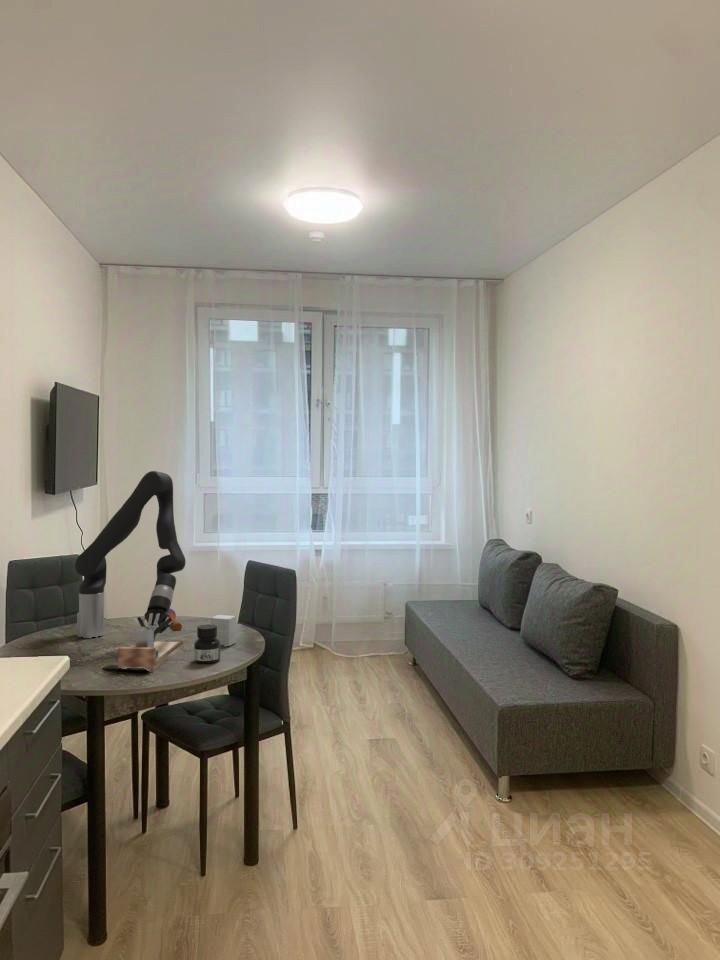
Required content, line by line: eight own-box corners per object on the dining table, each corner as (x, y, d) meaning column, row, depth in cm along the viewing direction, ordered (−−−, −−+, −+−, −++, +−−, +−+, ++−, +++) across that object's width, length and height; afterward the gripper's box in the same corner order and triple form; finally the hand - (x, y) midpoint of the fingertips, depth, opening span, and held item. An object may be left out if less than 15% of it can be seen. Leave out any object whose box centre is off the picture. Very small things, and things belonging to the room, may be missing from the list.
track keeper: (131, 661, 243) (131, 630, 242) (138, 656, 249) (138, 626, 248) (151, 661, 242) (151, 631, 242) (158, 656, 248) (157, 627, 248)
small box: (236, 643, 273) (236, 615, 273) (229, 647, 268) (229, 619, 267) (218, 641, 276) (218, 614, 275) (210, 645, 270) (210, 617, 270)
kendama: (169, 622, 291) (158, 609, 308) (171, 636, 292) (161, 622, 309) (183, 618, 293) (172, 605, 311) (186, 631, 294) (175, 618, 312)
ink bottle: (190, 664, 245) (190, 629, 245) (196, 657, 254) (196, 623, 254) (218, 664, 245) (218, 629, 245) (223, 657, 254) (223, 623, 254)
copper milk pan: (118, 670, 238) (117, 648, 237) (152, 645, 269) (152, 625, 269) (153, 671, 237) (153, 649, 236) (184, 646, 269) (184, 626, 268)
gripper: (140, 594, 258) (127, 636, 246) (176, 594, 257) (165, 637, 246) (145, 605, 264) (133, 647, 252) (181, 606, 263) (170, 648, 251)
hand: (149, 642), depth 249 cm, fingers closed
